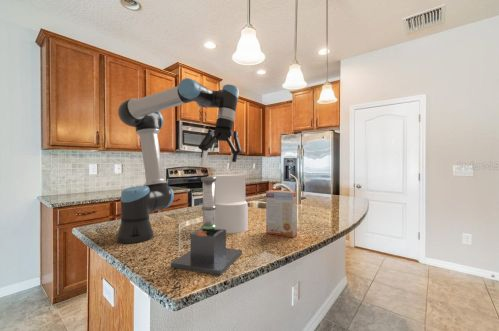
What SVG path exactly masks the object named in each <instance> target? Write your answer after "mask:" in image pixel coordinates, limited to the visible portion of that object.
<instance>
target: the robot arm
mask: <svg viewBox="0 0 499 331" xmlns="http://www.w3.org/2000/svg"><path fill="white" fill-rule="evenodd" d="M239 93H240V89H239V88H238V87H237V86H236V85H233V84H224V85H223V87H222V90H212V89H210V88H208V87H206V86H205V85H202V84H201V83H200V82H198V81H196V80H194V79H192V78H187V77H185V78H183V79H182V80H181V81H180V82H179V84H178V85H177V86H174V87H171V88H168V89H163V90H162V91H159V92H155V93H151V94H149V95H147V96H144V97H140V98H134V97H132V98H130V99H127V100H125V101H123V102H122V103H121V104H120V105H119V106H118V110H117V114H118V115H117V116H118V117H119V119H120V120H121V122H122V123H123V124H125V125H126V126H129V127H133V128H135V133H136V134H137V135H138V136H139V139H140V148H141V152H142V154H141V156H142V161H143V169H144V176H145V183H144V184H143V185H137V186H131V187H126V188H124V189H123V190H122V191H121V193H120V225H119V228H118V232H117V234H116V242H117V243H120V244H135V243H141V242H145V241H149V240H151V239H152V238H153V237H154V230H153V228H152V224H151V222H150V213H151V212H156V211H158V210H159V211H160V210H164V209H167V208H169V207H170V206H171V205H172V203H174V198H175V193H174V190H173V188H172V187H170V186H169V183H168V181H166V180H165V178H164V171H163V163H162V154H161V150H160V142H159V136H158V135H159V134H160V133H161V129H162V128H163V125H164V117H163V115H162V113H161V112H162V111H165V110H167V109H171V108H175V107H178V106H181V105H184V104H189V103H192V102H194V103H196V104H197V106H198V107H200V108H205V109H208V108H209V109H210V108H213V109H214V108H215V109H216V108H217V109H218V111H217V117H216V118H217V119H216V122H215V129H214V130H213V129H211V128H208V129H207V133H206V135H205V136H204V138H203V139H202V141H201V143H200V144H199V145H198V149H200V150H201V153H200V158H201V161H200V166H203V167H206V164H207V159H208V154H209V153H208V152H209V151H208V150H209V149H210V148H211V147H213V145H214V144H215V143H216V142H218V141H219V142H227V144H228V146H229V149H231V152H232V153H230V158H229V164H228V170H231V171H233V170H234V165H235V163H236V162H237V157H238V155H242V154H243V150H242V147H241V144H240V140H239V133H238V132H237V131H236V130H234V131H233V127H234V121H235V117H236V110H237V105H238V100H239V97H240V96H239ZM231 137H233V141H234V143H233V142H232V139H231ZM234 144H235V145H234ZM235 147H236V148H235Z"/></svg>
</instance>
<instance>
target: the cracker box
mask: <svg viewBox="0 0 499 331" xmlns="http://www.w3.org/2000/svg"><path fill="white" fill-rule="evenodd" d="M265 193H266V195H265V200H266V202H265V203H266V204H265V207H266V208H265V210H266V211H265V213H266V214H265V215H266V216H265V217H266V218H265V223H266V224H265V226H266V228H265V230H266V232H265V233H266V234H269V235H276V236H282V237H287V238H294V237H295V236H297V235H298V195H297V194H298V191H294V190H293V191H291V190H278V189H276V190H275V189H274V190H272V189H271V190H266V191H265Z"/></svg>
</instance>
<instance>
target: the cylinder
mask: <svg viewBox="0 0 499 331" xmlns="http://www.w3.org/2000/svg"><path fill="white" fill-rule="evenodd" d="M214 177H216V181H214V205H215V206H216V209H215V210H214V224H216V229H225V230H226V234H229V235H230V234H239V233H244V232H246V231H247V230H248V226H249V225H248V221H249V220H248V212H249V211H248V209H249V208H248V207H249V206H248V201H246V200H247V199H246V198H247V197H246V194H247V193H246V189H247V188H246V181H247V180H246V174H219V175H218V174H216V175H214Z"/></svg>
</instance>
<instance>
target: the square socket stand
mask: <svg viewBox="0 0 499 331" xmlns="http://www.w3.org/2000/svg"><path fill="white" fill-rule="evenodd" d="M189 235H190V241H189V242H190V245H189V246H190V250H189V251H187V252H186V253H184V254H183V255H181V256H180V257H178V258H176V259H175V260H173V261H171V262H170V268H174V269H179V270H186V271H192V272H196V273H197V272H198V273H203V274H209V275H213V276H222V275H223V274H224V273H225V272H227V271H226V270H228V269H229V268H230V266H232V265H233V264H234V263H235V262H236V261H237V260H238V259H239V258H240V257H241V256H242V255H243V249H235V248H228V247H227V245H226V244H227V233H226V230H225V229H215V234H213V235H208V234H207V231H203V230H202V228H200V229H198V230H196V231H194V232H192V233H190V234H189Z"/></svg>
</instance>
